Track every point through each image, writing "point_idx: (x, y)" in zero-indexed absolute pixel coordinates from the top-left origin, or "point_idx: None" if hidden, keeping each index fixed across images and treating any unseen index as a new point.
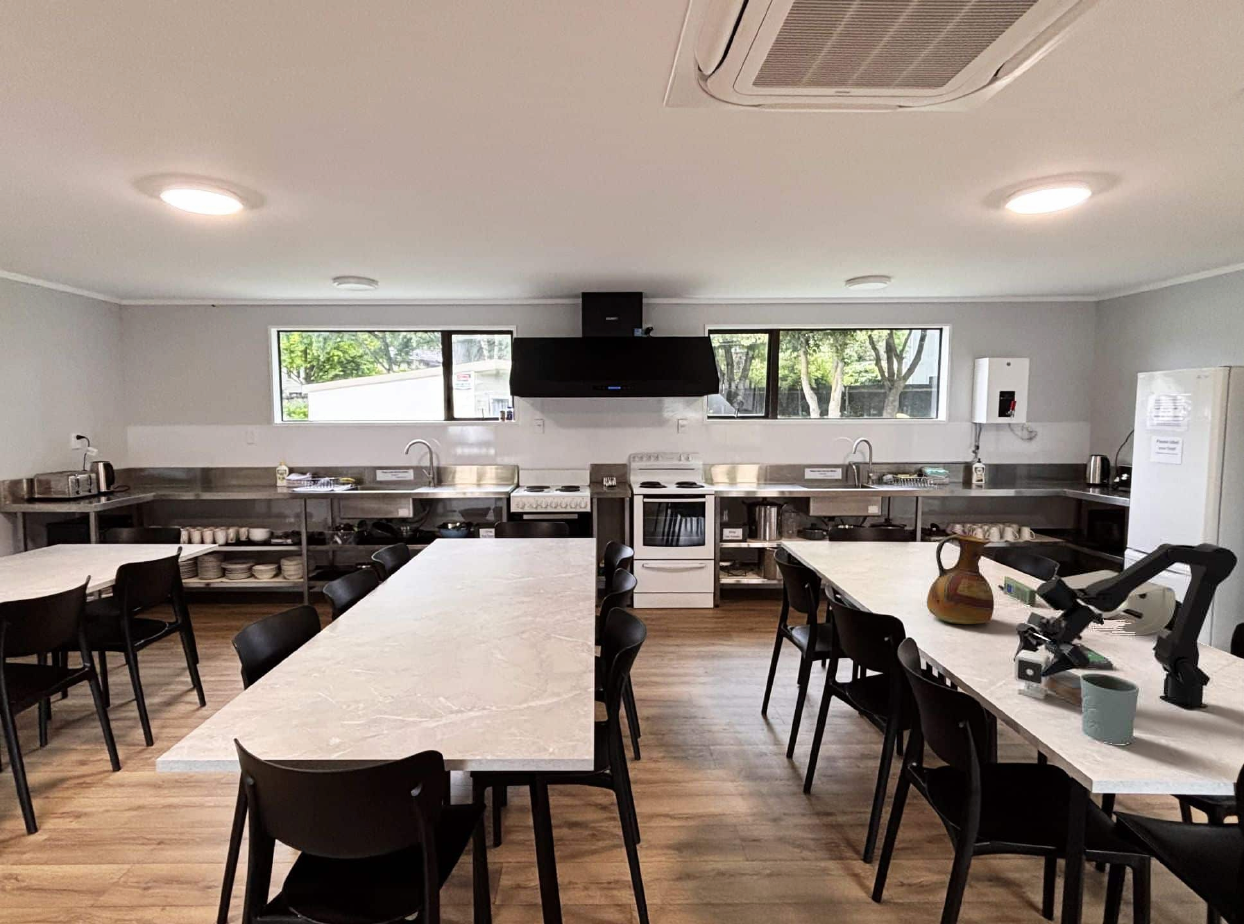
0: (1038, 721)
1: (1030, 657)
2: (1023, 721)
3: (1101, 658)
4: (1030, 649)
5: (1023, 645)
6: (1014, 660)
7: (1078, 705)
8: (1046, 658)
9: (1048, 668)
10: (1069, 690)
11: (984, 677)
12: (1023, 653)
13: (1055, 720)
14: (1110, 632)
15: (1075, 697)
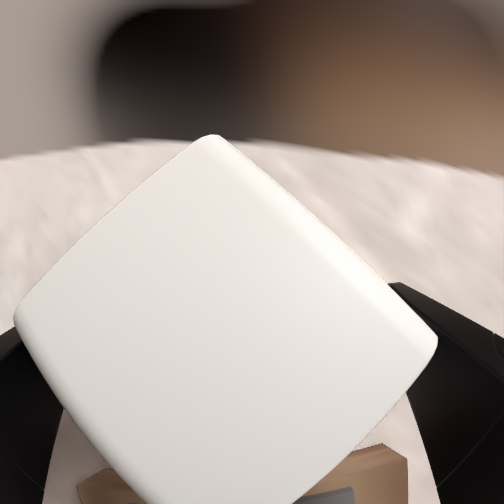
0: (30, 203)
1: (131, 251)
2: (45, 159)
3: None
4: (462, 471)
5: (499, 383)
6: (389, 284)
7: (105, 470)
8: (105, 456)
9: (9, 333)
10: (131, 490)
11: (436, 245)
12: (287, 257)
13: (19, 266)
14: None
15: (106, 480)
